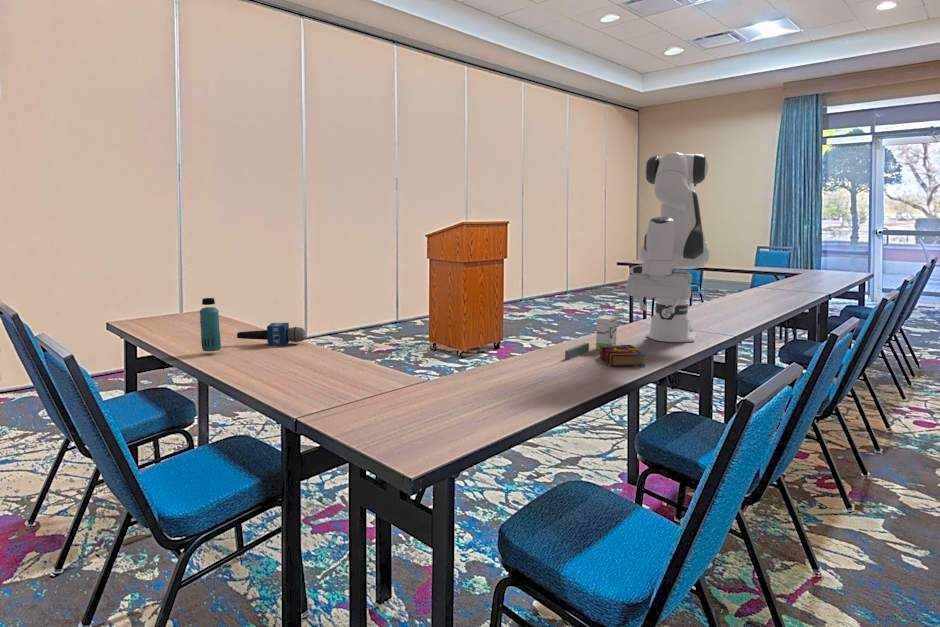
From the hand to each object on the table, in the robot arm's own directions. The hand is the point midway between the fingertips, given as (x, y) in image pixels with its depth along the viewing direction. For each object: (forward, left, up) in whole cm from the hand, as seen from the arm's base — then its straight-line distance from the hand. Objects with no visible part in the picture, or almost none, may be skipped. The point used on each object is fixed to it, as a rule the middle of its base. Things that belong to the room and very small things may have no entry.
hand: (657, 311), depth 202 cm
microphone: (+50, -131, -18) cm, 141 cm away
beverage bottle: (+72, -135, -18) cm, 154 cm away
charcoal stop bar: (0, -28, -18) cm, 33 cm away
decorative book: (0, -12, -19) cm, 22 cm away
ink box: (-17, -24, -18) cm, 34 cm away
